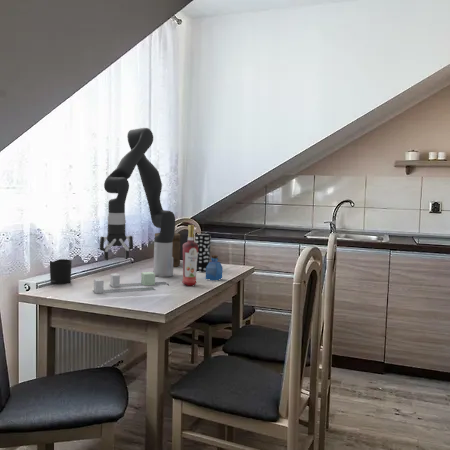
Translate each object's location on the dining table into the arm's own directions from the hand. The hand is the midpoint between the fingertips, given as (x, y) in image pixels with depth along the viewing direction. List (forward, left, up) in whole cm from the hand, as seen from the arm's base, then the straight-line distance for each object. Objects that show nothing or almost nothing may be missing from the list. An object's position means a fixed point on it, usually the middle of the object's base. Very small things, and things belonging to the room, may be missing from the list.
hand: (116, 259), depth 212 cm
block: (-15, 0, -12) cm, 19 cm away
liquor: (-34, +3, -13) cm, 36 cm away
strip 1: (-2, +10, -13) cm, 16 cm away
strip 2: (-11, 0, -13) cm, 16 cm away
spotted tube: (-54, -30, -13) cm, 63 cm away
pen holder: (+21, -17, -13) cm, 30 cm away
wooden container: (-41, -51, -13) cm, 67 cm away
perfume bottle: (-51, -7, -13) cm, 53 cm away
